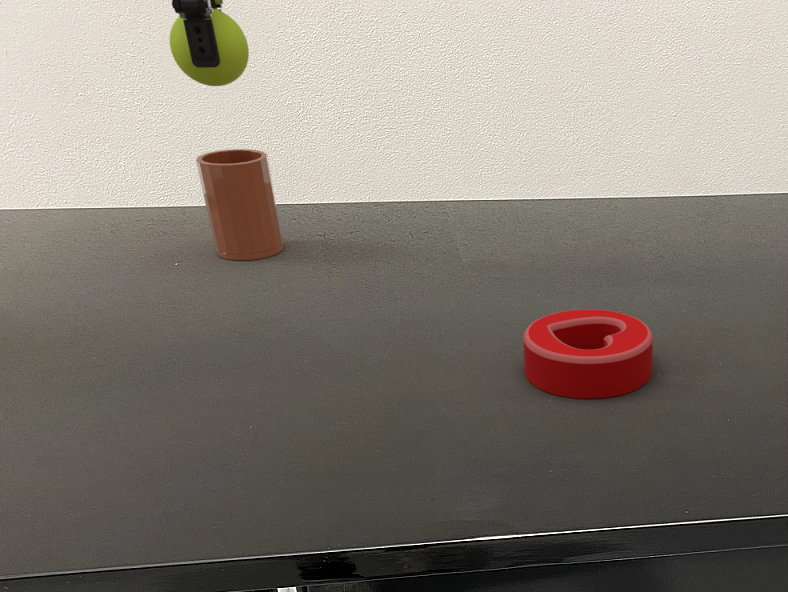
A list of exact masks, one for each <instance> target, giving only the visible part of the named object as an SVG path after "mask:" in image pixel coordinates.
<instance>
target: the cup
mask: <svg viewBox="0 0 788 592" xmlns="http://www.w3.org/2000/svg"><path fill="white" fill-rule="evenodd" d="M195 161H196V162H195V163H196V167H197V171H198V176H199V181H200V184H201V189H202V194H203V198H204V204H205V207H206V208H205V209H206V212H207V216H208V223H209V226H210V231H211V236H212V240H213V245H214V248H215V251H216V255H217V256H218V257H219V258H221V259H225V260H230V261H254V260H262V259H265V258H269V257H273V256H276V255H278V254H279V253H281V252H282V251H283V250H284V242H283V234H282V229H281V224H280V217H279V212H278V207H277V200H276V196H275V190H274V185H273V179H272V173H271V168H270V163H269V157H268V153H266V152H264V151H263V150H259V149H258V150H257V149H247V148H235V149H234V148H231V149H222V150H215V151H210V152H206V153H203V154H201V155H198V156H197V157H196V159H195Z"/></svg>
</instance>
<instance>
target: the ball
mask: <svg viewBox="0 0 788 592" xmlns="http://www.w3.org/2000/svg"><path fill="white" fill-rule="evenodd" d="M212 9H213V8H212ZM217 9H218V8H217ZM217 9H213V14H212V18H208V19H212V20H213V26H214V31H215V36H216V41H217V46H218V51H219V56H220V64H219V65H218V66H217V67H205V68H198V67H196V66H194V65H193V63H192V59H191V55H190V50H189V45H188V40H187V36H186V31H185V26H184V22H183V20H184V19H181V18H180V15H179V16H177V18H176V19H175V21H174V22H173V24H172V26H171V27H170V28H171V29H170V32H169V48H170V52H171V55H172V58H173V59H174V61H175V63H176V65H177V66H178V68H179V69H180V70H181V71H182V72H183V73H184V74H185V75H186V76H187V77H188V78H190V79H191V80H193V81H195V82H196V83H198V84H202V85H206V86H209V87H221V86H222V87H223V86H226V85H229V84H232V83H234V82H235V81H236V80H238V79H239V78H240V77H241V76H242V75H243V73H244V72H245V70H246V68H247V65H248V62H249V57H250V56H249V55H250V52H249V51H250V49H249V44H248V40H247V37H246V35H245V33H244V31H243V29H242V28H241V27H240V25H239V23H237V22H236V21H235V20H234V19H233V18H232V17H230V16H229V15H228V14H226V13H225V12H223V11H222V10H221V11H222V12H221V11H219V10H217Z"/></svg>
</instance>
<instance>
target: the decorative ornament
mask: <svg viewBox="0 0 788 592" xmlns="http://www.w3.org/2000/svg"><path fill="white" fill-rule="evenodd" d="M522 340H523V341H522V342H523V361H524V375H525V377H526V379H527V380H528V382H529V383H530V384H532V385H533V386H534V387H535V388H537V389H539V390H541V391H542V392H545V393H548V394H550V395H555V396H560V397H564V398H570V399H571V398H572V399H587V400H588V399H606V398H613V397H618V396H623V395H625V394H628V393H631V392H634V391H636V390H638V389H640V388H642V387H643V386H644V385H645V384H646V383H647V382H648V381H649V380H650V379H651V377H652V375H653V352H654V351H653V348H654V346H653V345H654V336H653V332H652V330H650V328H649V326H648V325H647V324H646V323H645V322H643V321H642V320H640V319H638V317H634V316H632V315H629V314H626V313H623V312H619V311H613V310H608V309H591V308H590V309H587V308H586V309H584V308H583V309H571V310H569V309H568V310H564V311H563V310H562V311H558V312H554V313H550V314H547V315H545V316H542V317H540V318H538V319H536V320H534V321H533V322H531V323H530V324H529V325H528V327H527V328H526V329H525V331H524V334H523V336H522Z"/></svg>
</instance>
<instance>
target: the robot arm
mask: <svg viewBox="0 0 788 592" xmlns="http://www.w3.org/2000/svg"><path fill="white" fill-rule="evenodd" d="M223 4H224V0H171V6H172V9H174V12H175V13H176V14H178V15H179V16H180V18H181V19H184V20H183V22H184V26H185V31H186V36H187V40H188V45H189V50H190V55H191V59H192V63H193V65H194V66H196V67H198V68H205V67H217V66H218V65H219V64H220V56H219V51H218V46H217V41H216V36H215V31H214V26H213V20H212V19H208V18H212V14H213V9H217V10H219V11H221V12H223V11H222V9H223ZM212 8H213V9H212Z"/></svg>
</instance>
